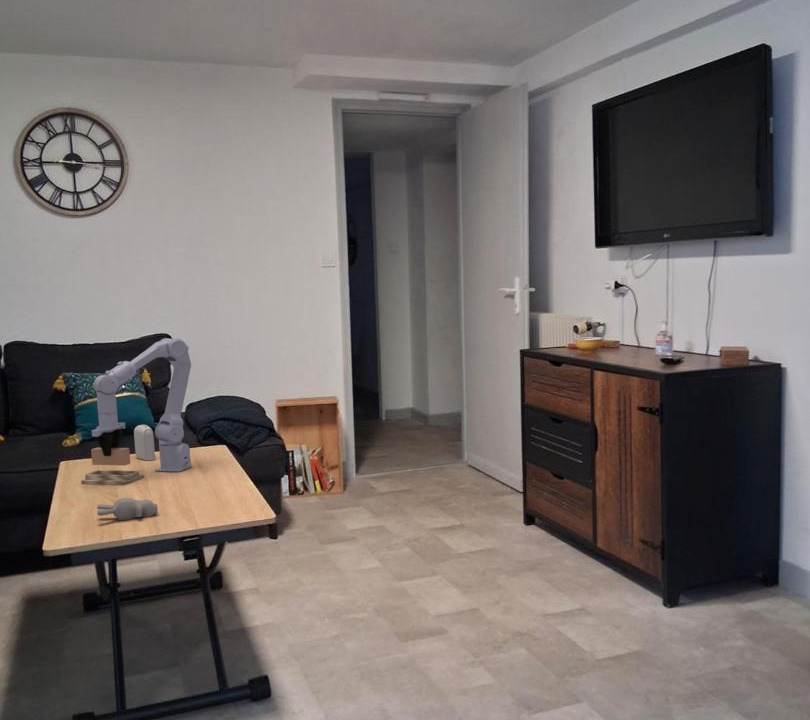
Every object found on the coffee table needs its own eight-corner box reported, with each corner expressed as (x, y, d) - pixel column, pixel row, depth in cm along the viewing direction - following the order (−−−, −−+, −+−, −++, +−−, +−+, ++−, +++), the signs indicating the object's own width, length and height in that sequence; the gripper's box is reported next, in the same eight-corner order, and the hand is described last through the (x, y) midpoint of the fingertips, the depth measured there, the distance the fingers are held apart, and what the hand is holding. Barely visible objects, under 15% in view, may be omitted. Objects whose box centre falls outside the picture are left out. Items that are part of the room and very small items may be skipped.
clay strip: (130, 463, 260) (129, 448, 260) (124, 465, 258) (123, 449, 257) (98, 462, 264) (97, 447, 263) (92, 464, 261) (91, 449, 260)
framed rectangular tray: (143, 477, 264) (143, 469, 263) (125, 485, 254) (124, 477, 254) (101, 476, 268) (100, 468, 268) (81, 483, 258) (80, 476, 258)
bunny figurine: (158, 503, 214) (98, 504, 209) (157, 522, 215) (97, 524, 209) (156, 495, 223) (97, 496, 218) (155, 513, 223) (96, 515, 218)
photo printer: (134, 457, 297) (131, 424, 296) (145, 455, 299) (143, 422, 298) (145, 461, 289) (142, 427, 288) (156, 459, 292) (154, 425, 290)
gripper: (110, 409, 267) (113, 449, 268) (82, 416, 253) (85, 459, 254) (129, 409, 265) (132, 450, 266) (101, 416, 251) (105, 459, 253)
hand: (110, 454), depth 260 cm, fingers closed on clay strip, 3 cm apart
